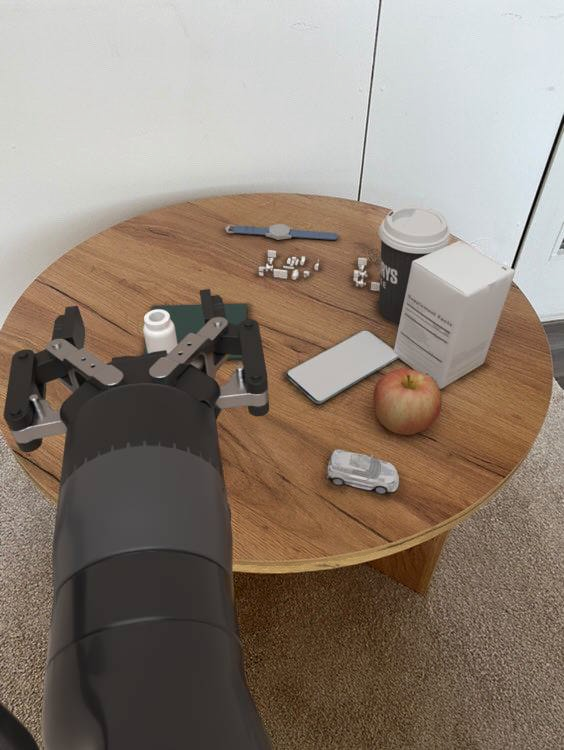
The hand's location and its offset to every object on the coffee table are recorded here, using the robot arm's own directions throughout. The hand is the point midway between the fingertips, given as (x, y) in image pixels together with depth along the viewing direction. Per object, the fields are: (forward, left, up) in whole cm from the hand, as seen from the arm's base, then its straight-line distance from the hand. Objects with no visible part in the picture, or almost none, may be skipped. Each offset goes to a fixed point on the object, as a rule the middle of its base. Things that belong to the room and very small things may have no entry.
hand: (141, 308), depth 39 cm
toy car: (+19, +7, -30) cm, 36 cm away
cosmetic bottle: (-1, +9, -30) cm, 32 cm away
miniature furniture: (+21, +47, -30) cm, 60 cm away
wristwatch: (+12, +59, -30) cm, 67 cm away
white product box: (+32, +26, -30) cm, 51 cm away
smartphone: (+19, +25, -30) cm, 44 cm away
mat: (-1, +33, -30) cm, 45 cm away
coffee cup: (+29, +37, -30) cm, 56 cm away
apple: (+25, +15, -30) cm, 42 cm away
